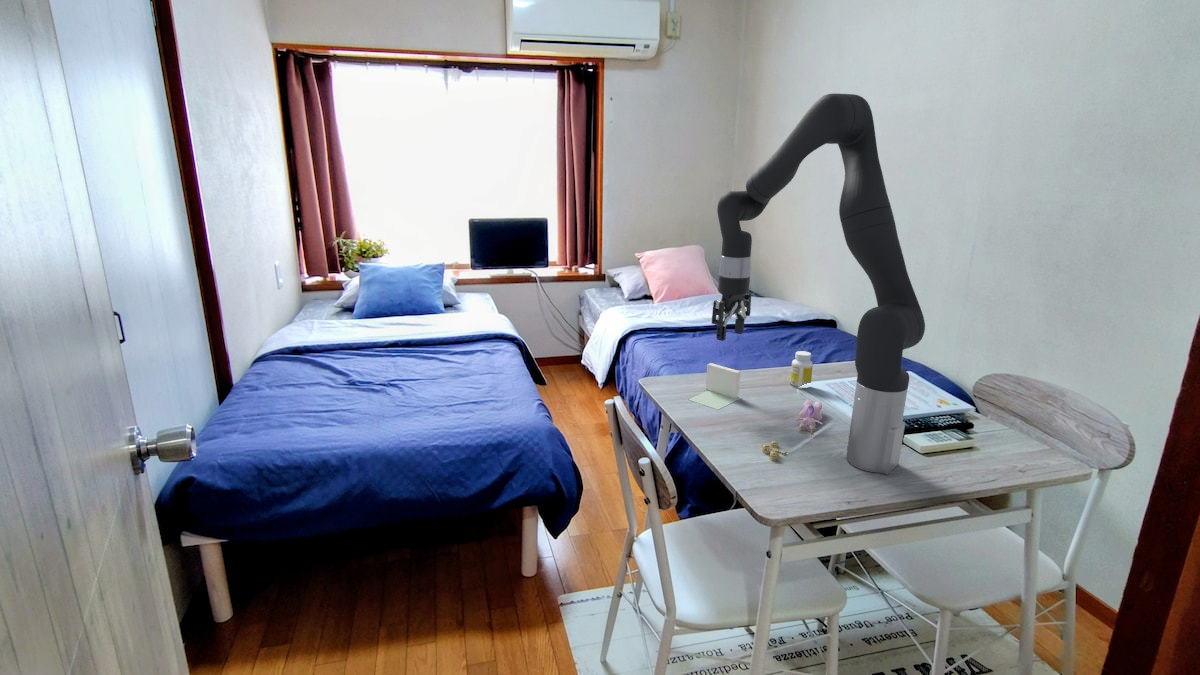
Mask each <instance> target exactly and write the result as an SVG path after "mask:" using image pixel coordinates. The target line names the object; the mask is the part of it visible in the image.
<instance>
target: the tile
mask: <svg viewBox="0 0 1200 675" xmlns="http://www.w3.org/2000/svg"><path fill="white" fill-rule="evenodd" d="M740 378H741V370H738V369H733V368H729V367H726V366H724V365H719V364H716V363H712V362H710V363H708V364H706V380H705V390H706V391H708V390H710V391H713V392H716V393H720V394H723V395H726V396H729V397H732V398H737V397H738V396H740V395H739V393H740V382H741V381H740V380H741V379H740Z"/></svg>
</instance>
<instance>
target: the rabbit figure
mask: <svg viewBox="0 0 1200 675" xmlns="http://www.w3.org/2000/svg"><path fill="white" fill-rule="evenodd" d="M802 406H803V409H802V410H800V412H799V413H798V415H799V417H796V418H795V419H794V420H795V422H797V421H800V423H799V427H798V429H799V430H798V433H803V431H808V432H810V433H809V434H810V435H811V436H814V432H816V429H817V428H816V427H817V424H819V425H820V426H823V425H824V423H823V422H821V420H822V419H823V415H822V414H821V410H822V407H823V404H822V402H821V401H815V402H814V403H813V401H812V400H810V399H807V400H805V401H804V402H803V405H802Z"/></svg>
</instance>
